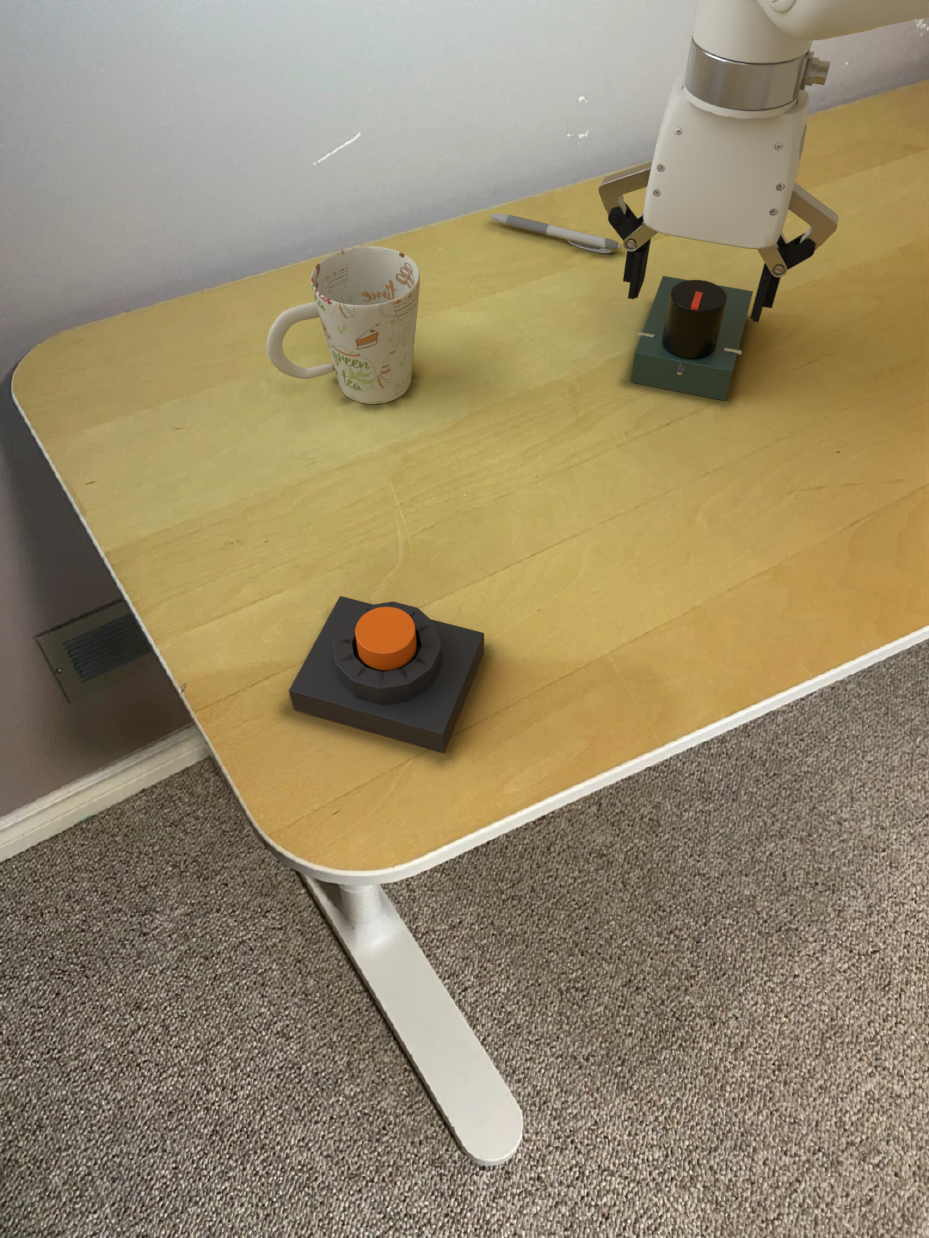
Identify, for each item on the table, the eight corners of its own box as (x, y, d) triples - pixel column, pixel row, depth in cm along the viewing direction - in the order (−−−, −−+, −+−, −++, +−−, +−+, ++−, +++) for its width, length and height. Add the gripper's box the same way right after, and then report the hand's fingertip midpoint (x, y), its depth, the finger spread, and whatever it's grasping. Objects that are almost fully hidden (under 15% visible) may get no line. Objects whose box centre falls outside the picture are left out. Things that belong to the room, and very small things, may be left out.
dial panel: (654, 304, 88) (659, 273, 86) (749, 321, 86) (757, 289, 84) (621, 394, 80) (626, 362, 77) (725, 415, 78) (733, 383, 76)
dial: (667, 323, 81) (676, 272, 77) (719, 333, 80) (732, 281, 76) (657, 353, 78) (666, 301, 74) (711, 364, 77) (723, 311, 74)
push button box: (484, 653, 63) (484, 614, 60) (444, 753, 58) (442, 717, 55) (343, 616, 65) (336, 577, 62) (293, 710, 60) (283, 673, 57)
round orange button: (424, 632, 59) (423, 614, 58) (404, 677, 57) (402, 659, 56) (370, 618, 60) (368, 600, 59) (348, 662, 58) (345, 644, 57)
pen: (618, 258, 93) (620, 244, 92) (487, 226, 97) (487, 213, 96) (622, 253, 93) (623, 239, 92) (491, 222, 97) (491, 208, 96)
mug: (439, 399, 79) (435, 291, 72) (291, 437, 77) (271, 329, 69) (405, 344, 84) (398, 237, 77) (265, 377, 81) (244, 270, 74)
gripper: (884, 65, 63) (811, 295, 77) (627, 32, 67) (600, 257, 80) (877, 115, 59) (800, 349, 72) (602, 76, 62) (578, 307, 76)
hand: (695, 301), depth 76 cm, fingers open, 9 cm apart
